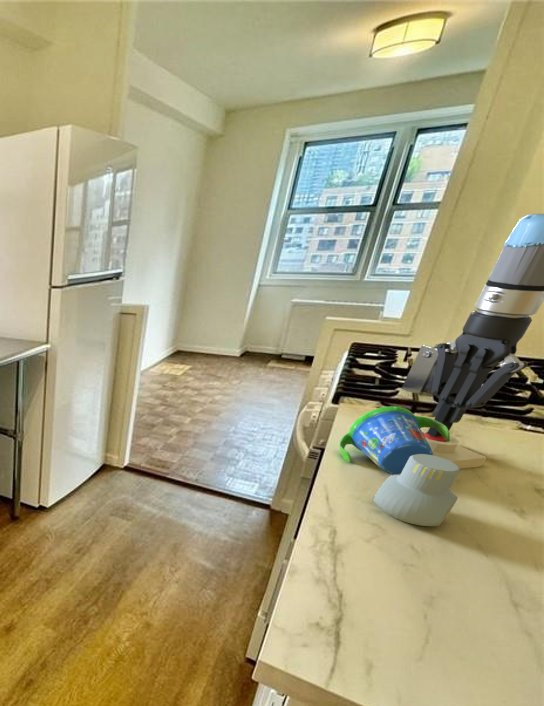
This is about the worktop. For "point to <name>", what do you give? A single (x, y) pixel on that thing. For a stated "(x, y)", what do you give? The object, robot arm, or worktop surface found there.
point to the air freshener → (420, 491)
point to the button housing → (455, 453)
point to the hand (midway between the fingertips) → (436, 434)
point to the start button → (439, 438)
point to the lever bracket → (422, 371)
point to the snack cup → (390, 437)
